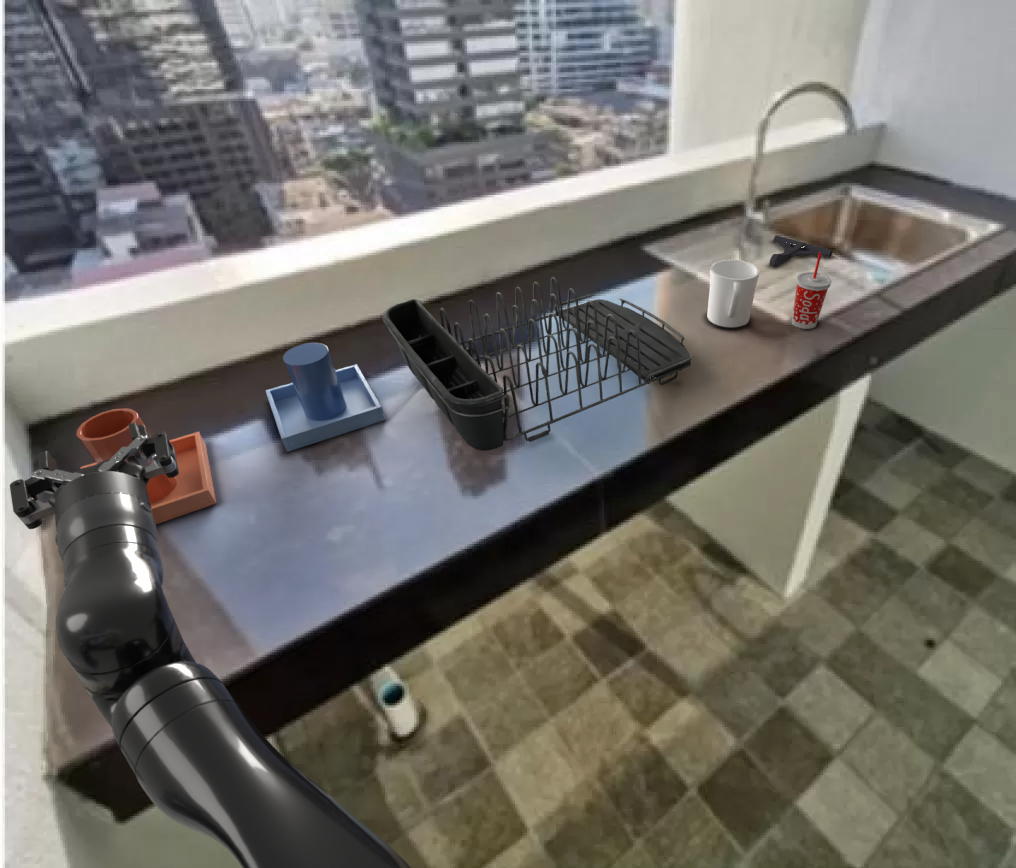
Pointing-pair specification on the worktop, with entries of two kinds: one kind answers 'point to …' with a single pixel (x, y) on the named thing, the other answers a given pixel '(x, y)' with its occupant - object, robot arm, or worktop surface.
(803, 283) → the beverage cup
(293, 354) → the blue upright cylinder
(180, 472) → the terracotta tray
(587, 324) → the dish rack
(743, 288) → the mug
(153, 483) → the terracotta cup
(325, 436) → the blue tray
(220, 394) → the worktop surface
